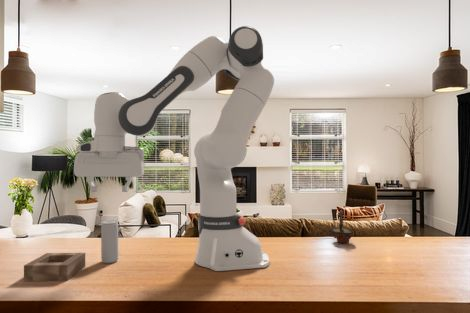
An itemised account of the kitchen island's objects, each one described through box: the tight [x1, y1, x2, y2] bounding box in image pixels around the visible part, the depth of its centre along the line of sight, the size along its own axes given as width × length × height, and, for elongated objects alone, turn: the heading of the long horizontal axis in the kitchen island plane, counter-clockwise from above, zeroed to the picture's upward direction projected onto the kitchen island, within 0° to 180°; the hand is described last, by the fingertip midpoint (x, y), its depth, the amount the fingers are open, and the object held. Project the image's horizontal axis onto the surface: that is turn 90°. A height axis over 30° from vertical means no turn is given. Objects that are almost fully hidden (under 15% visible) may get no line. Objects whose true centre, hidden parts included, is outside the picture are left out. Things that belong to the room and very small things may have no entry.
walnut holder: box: [23, 252, 86, 282], centre depth 91 cm, size 11×11×4 cm
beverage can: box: [100, 220, 119, 264], centre depth 101 cm, size 5×5×12 cm
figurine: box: [329, 209, 354, 244], centre depth 123 cm, size 10×8×12 cm
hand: (109, 191), depth 101 cm, fingers open, 8 cm apart
